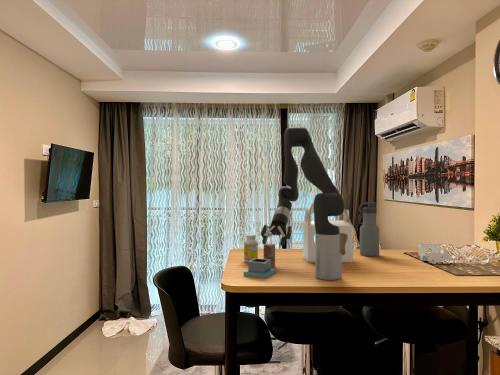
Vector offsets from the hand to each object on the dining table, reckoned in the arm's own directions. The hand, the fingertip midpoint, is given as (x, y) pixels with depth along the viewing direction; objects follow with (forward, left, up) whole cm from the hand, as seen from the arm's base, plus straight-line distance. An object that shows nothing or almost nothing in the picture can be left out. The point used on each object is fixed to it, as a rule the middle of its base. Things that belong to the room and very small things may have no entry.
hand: (272, 244), depth 153 cm
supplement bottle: (+12, +2, -10) cm, 16 cm away
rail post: (-2, +3, -9) cm, 10 cm away
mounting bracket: (-46, -64, -10) cm, 79 cm away
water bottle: (-16, -57, -10) cm, 59 cm away
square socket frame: (-9, +15, -8) cm, 19 cm away
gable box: (-9, -30, -10) cm, 32 cm away
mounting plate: (-9, +15, -9) cm, 20 cm away
